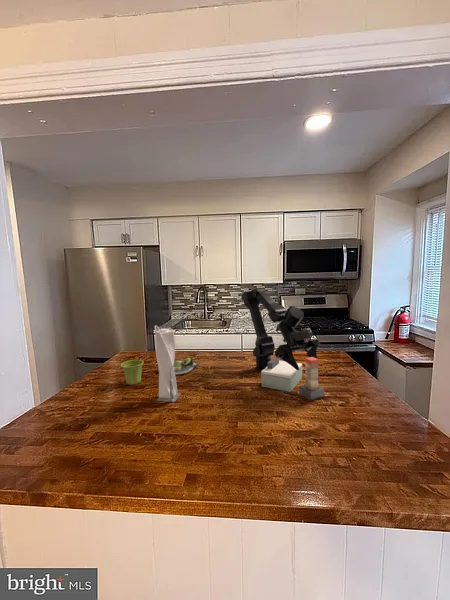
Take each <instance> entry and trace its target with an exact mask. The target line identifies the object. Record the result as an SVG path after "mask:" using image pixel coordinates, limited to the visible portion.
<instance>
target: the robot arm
mask: <svg viewBox="0 0 450 600" xmlns="http://www.w3.org/2000/svg"><path fill="white" fill-rule="evenodd" d="M241 299H242V302H243V304H244V306H245V307H246V308H247V309H248V310H249V314H250V317H251V321H252V324H253V328H254V330H255V331H254V332H255V334H256V339H255V342H254V343H255V347H254V348H253V350H252V355H253V356H254V357H255V362H256V363H255V365H256V366H255V367H254V369H255V370H260V371H262V370H264V369H265V368H266V367H267V363H268V362H269V361H270V360H272V359H273V358H271V356H275V357H276V358H279V360H280V361H285V362H287V363H288V364H290V365H291V366H292V367H294V368H295V369H296V370H299V367H298V365H297V363H298V362H297V361H296V359H295V357H294V354H293V352H297V351H304V352H306V355H307V356H308V357H307V358H309V357H314V358H316V359H318V355H317V351H318V348H319V347H320V345H321V342H320V341H319V339H317V338H314V339H311V337H312V336H313V334H314V333H313V331H312V329H311V328H310V327H307V328H304V329H303V330H296V328H295V327H297V326H298V325H299V324H300V322H301V321H302V320H303V318H304V316H305V315H304V314H305V313H304V311H303V310H301V309H300V308H299V307H296V305H290V306H289V307H288V309H287V308H286V307H285V306H283V305H281V304H279V303H277V302H276V301H275V300H274V299H273V298H272V297H271V296H270V295H269V294H268V293H267V292H266V291H265V288H255V289H252V290H249V291H246V290H245V291H244V292H243V293H242V294H241ZM260 303H261V305H262V306H263V307H264V308H265V310H266V311H267V312H268V313H267V316H268V317H269V319H270V321H271V322H272V323H278V322H279V323H278V324H276V328H275V329H276V331H277V332H280V333H281V335H282V337H283V339H282V341H283V343H285V344H280V345H278V346H277V348H276V347H275V342H274V339H273V338H274V337H272V335H268V334H267V331H266V327H265V324H264V319H263V317H262V312H261V310H260ZM306 340H308V341H307V342H306ZM305 342H306V343H305ZM275 349H276V350H275Z"/></svg>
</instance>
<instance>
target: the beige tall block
mask: <svg viewBox="0 0 450 600" xmlns="http://www.w3.org/2000/svg"><path fill="white" fill-rule="evenodd" d="M304 361H305V362H304V363H305V368H304V369H305V384H306V388H307V389H309V390H311V391H312V390H316V389H318V386H319V359H318V358H317V359H316V358H314V357H305V360H304Z"/></svg>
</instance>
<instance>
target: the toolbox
mask: <svg viewBox="0 0 450 600" xmlns="http://www.w3.org/2000/svg"><path fill="white" fill-rule="evenodd" d="M260 376H261V378H260V379H261V387H264V388H269V389H275V390H279V391H285V392H288V393H290V392H292V391H293V389H294V388H295V387H296V386H297V385H298V384H299V383H300V382H301V380H302V379H303V366H302V367H301V368H300V369H299V370H298V371H297V372H296V373H295V374H294V375H293V376H292V377H291V378H290V379H289V378H283V377H278V376H272V375H266V374H261V375H260Z"/></svg>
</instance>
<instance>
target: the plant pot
mask: <svg viewBox="0 0 450 600" xmlns="http://www.w3.org/2000/svg"><path fill="white" fill-rule="evenodd" d="M143 365H144V361H143V360H142V359H131V360H126V361H124V362H121V364H120V367H121V368H122V370H123V374H124V378H125V382H126V384H127V385H131V386H132V385H137V384H139V383H141V381H142V370H143Z"/></svg>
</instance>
